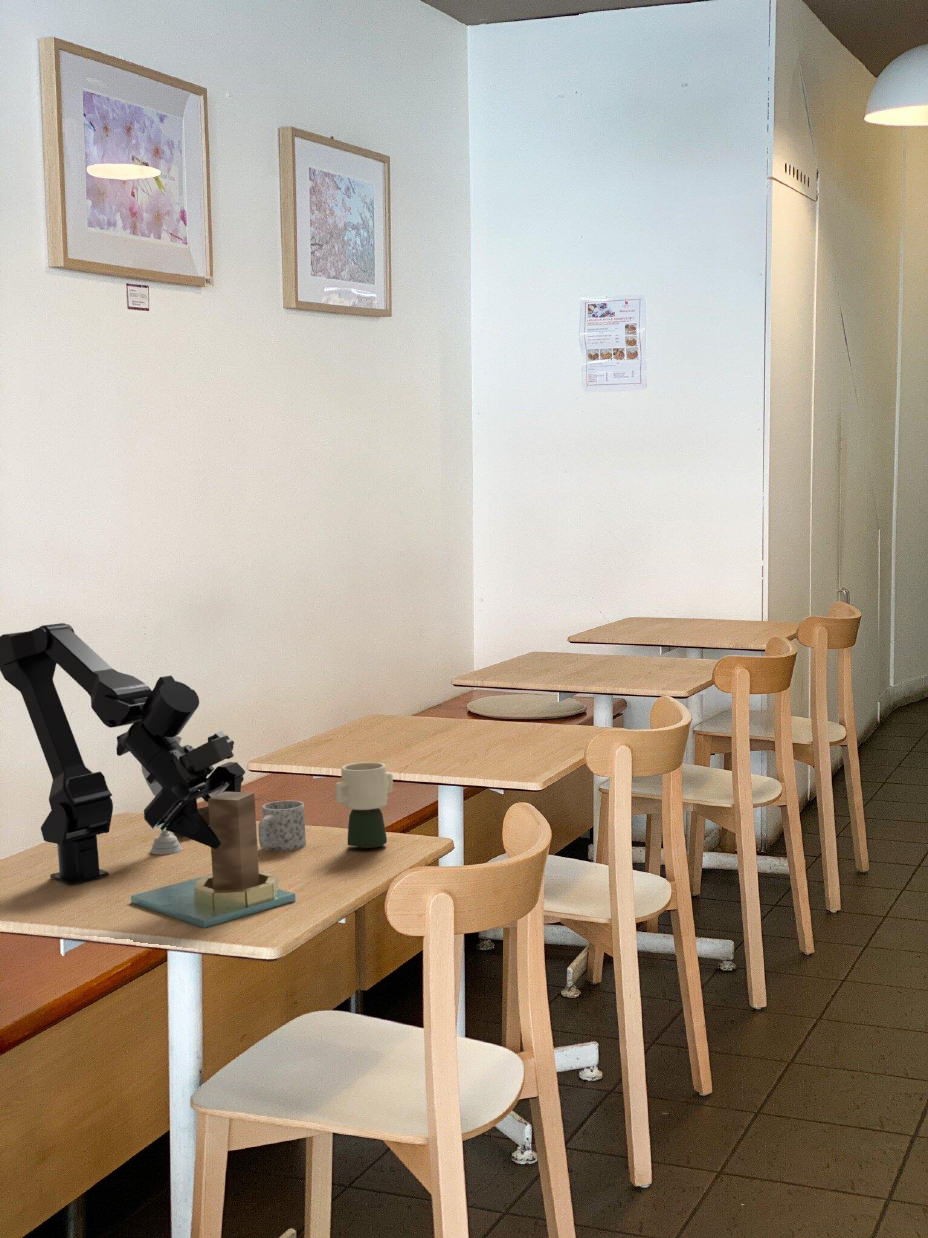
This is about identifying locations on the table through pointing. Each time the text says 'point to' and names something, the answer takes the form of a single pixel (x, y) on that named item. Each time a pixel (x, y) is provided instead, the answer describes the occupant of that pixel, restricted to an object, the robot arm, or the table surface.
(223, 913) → the socket plate
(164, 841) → the chalice
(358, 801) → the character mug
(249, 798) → the peg
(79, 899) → the table surface
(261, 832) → the mug
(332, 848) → the table surface
